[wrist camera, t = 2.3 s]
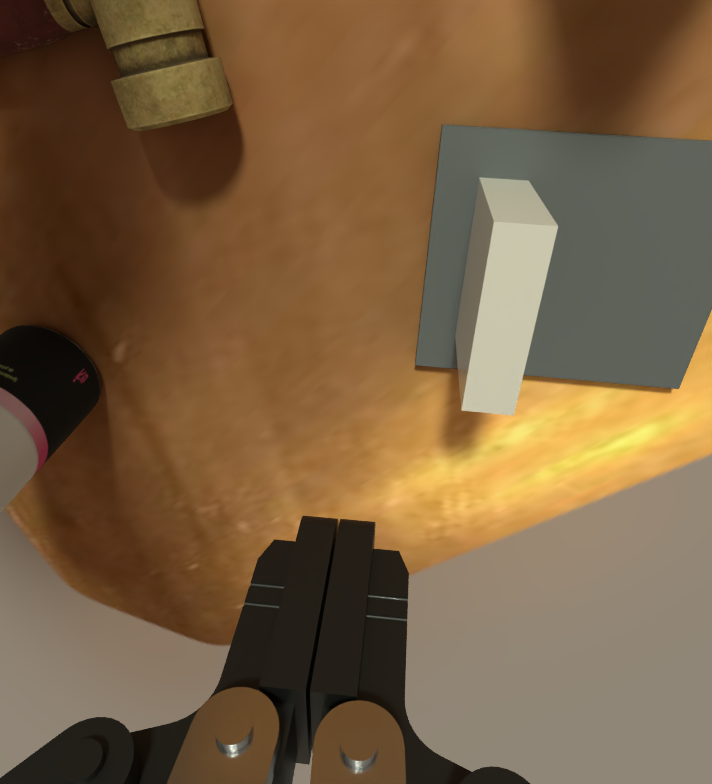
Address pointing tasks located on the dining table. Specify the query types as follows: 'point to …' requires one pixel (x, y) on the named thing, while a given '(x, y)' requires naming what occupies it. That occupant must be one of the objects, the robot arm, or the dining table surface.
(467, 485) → the dining table surface
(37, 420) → the beverage can
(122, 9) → the gavel
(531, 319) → the tile
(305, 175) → the dining table surface
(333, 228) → the dining table surface
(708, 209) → the mat
